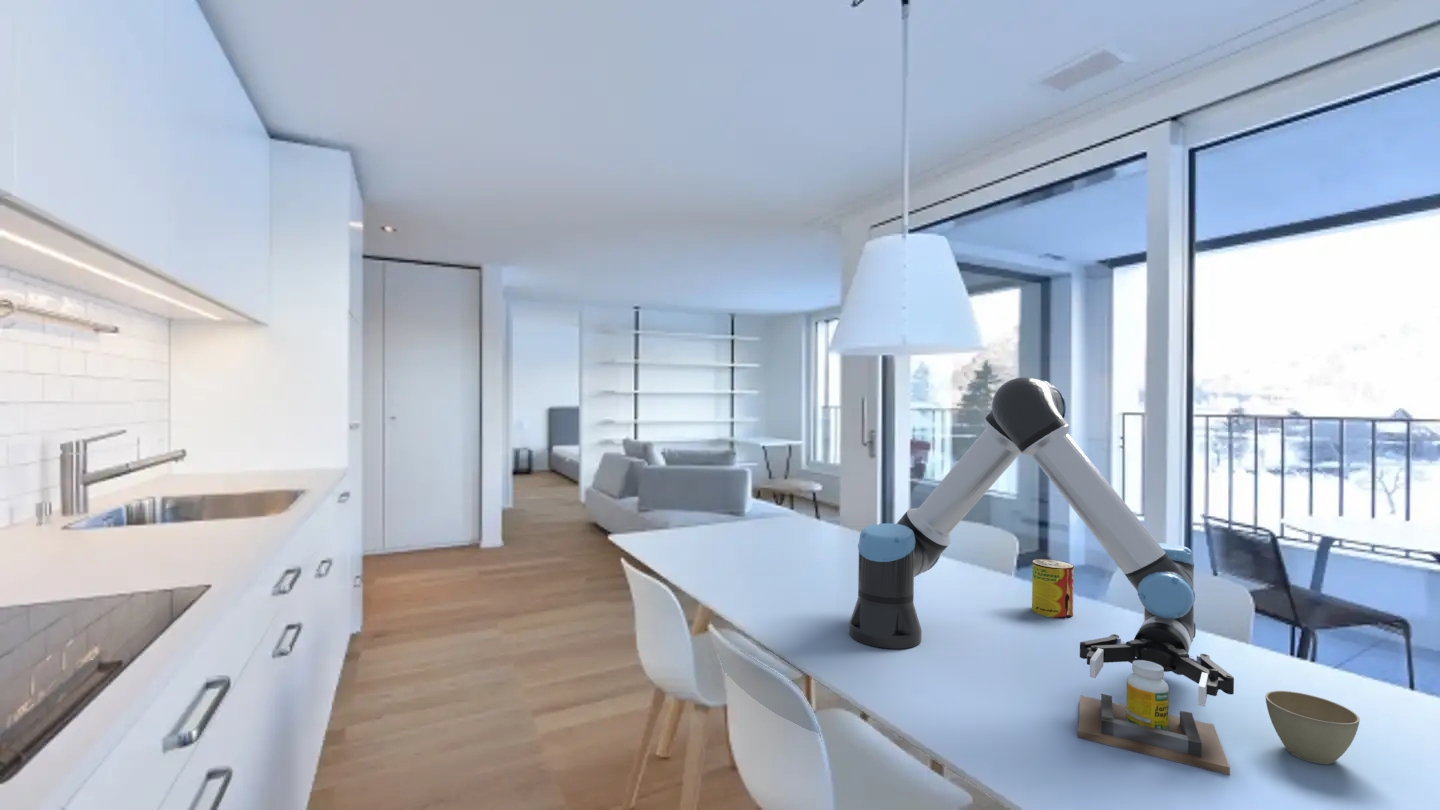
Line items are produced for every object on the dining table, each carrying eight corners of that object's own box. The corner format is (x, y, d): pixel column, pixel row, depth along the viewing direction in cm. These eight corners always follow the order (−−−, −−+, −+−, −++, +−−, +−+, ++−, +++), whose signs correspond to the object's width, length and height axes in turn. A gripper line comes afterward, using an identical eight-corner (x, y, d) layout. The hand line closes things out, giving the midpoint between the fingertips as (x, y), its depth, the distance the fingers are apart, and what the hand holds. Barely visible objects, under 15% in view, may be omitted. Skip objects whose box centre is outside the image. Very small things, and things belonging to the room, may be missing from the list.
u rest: (1078, 737, 95) (1078, 717, 95) (1080, 701, 107) (1080, 683, 107) (1229, 774, 86) (1230, 752, 86) (1213, 730, 98) (1213, 711, 98)
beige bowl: (1246, 738, 96) (1247, 690, 96) (1306, 736, 97) (1307, 690, 97) (1313, 776, 86) (1314, 723, 86) (1379, 774, 87) (1380, 722, 87)
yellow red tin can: (1050, 619, 150) (1051, 568, 150) (1023, 607, 159) (1024, 559, 159) (1081, 617, 152) (1082, 567, 152) (1053, 605, 161) (1054, 558, 161)
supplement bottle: (1135, 715, 100) (1137, 655, 100) (1174, 730, 96) (1175, 667, 96) (1119, 724, 98) (1120, 662, 98) (1158, 740, 93) (1159, 674, 93)
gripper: (1255, 686, 102) (1253, 736, 86) (1081, 646, 119) (1052, 682, 102) (1256, 640, 102) (1254, 681, 86) (1081, 606, 119) (1053, 635, 103)
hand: (1144, 682), depth 94 cm, fingers open, 13 cm apart
